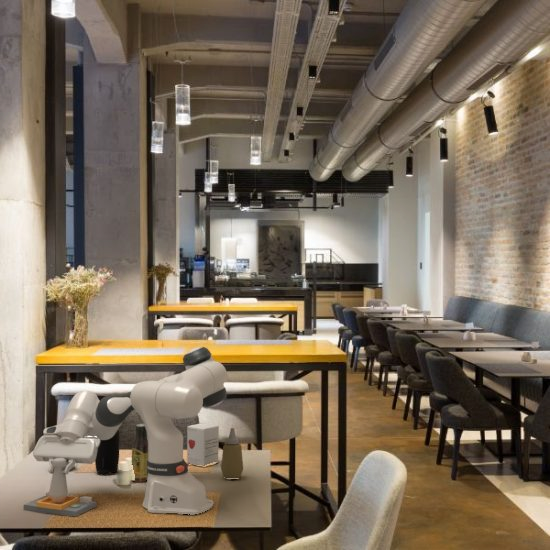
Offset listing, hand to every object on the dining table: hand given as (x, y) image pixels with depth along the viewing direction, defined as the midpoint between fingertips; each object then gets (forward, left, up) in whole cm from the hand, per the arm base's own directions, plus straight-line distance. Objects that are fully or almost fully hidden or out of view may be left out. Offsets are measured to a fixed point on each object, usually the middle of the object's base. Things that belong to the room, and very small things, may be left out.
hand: (57, 473), depth 236 cm
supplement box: (-17, -69, -11) cm, 72 cm away
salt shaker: (0, 0, -9) cm, 9 cm away
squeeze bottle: (-36, -54, -11) cm, 65 cm away
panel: (0, -1, -11) cm, 11 cm away
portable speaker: (+10, -44, -11) cm, 46 cm away
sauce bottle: (-7, -39, -11) cm, 41 cm away
